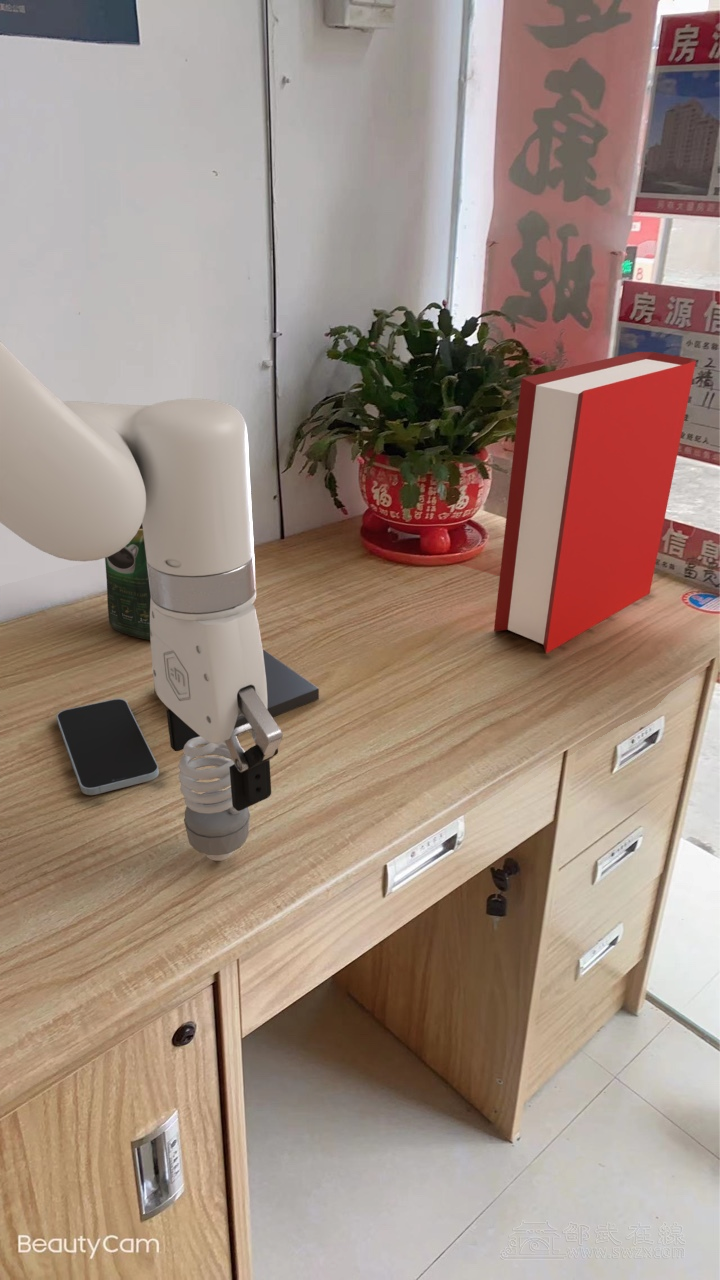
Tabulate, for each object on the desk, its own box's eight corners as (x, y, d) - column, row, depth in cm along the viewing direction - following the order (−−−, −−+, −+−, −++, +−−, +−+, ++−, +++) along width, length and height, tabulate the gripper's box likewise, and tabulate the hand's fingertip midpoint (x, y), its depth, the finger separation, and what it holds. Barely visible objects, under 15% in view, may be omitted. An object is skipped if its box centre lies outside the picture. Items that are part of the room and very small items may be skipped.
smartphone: (125, 696, 96) (161, 771, 84) (125, 703, 96) (162, 779, 85) (54, 711, 93) (82, 791, 81) (55, 719, 93) (83, 799, 82)
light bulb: (257, 837, 78) (253, 724, 72) (247, 883, 73) (241, 765, 67) (194, 834, 78) (184, 720, 72) (179, 879, 73) (168, 761, 67)
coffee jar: (198, 623, 114) (189, 484, 105) (157, 648, 108) (143, 503, 99) (141, 605, 118) (127, 470, 109) (98, 629, 112) (80, 487, 103)
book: (545, 653, 109) (583, 390, 94) (493, 631, 114) (521, 378, 99) (654, 590, 126) (701, 359, 111) (605, 573, 131) (643, 350, 116)
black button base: (208, 742, 90) (207, 718, 89) (154, 693, 98) (151, 670, 97) (319, 699, 98) (319, 675, 97) (259, 656, 106) (259, 634, 105)
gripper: (101, 554, 67) (128, 740, 75) (219, 640, 55) (236, 849, 63) (189, 531, 71) (205, 710, 79) (316, 607, 59) (320, 807, 67)
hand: (219, 772), depth 71 cm, fingers open, 9 cm apart
